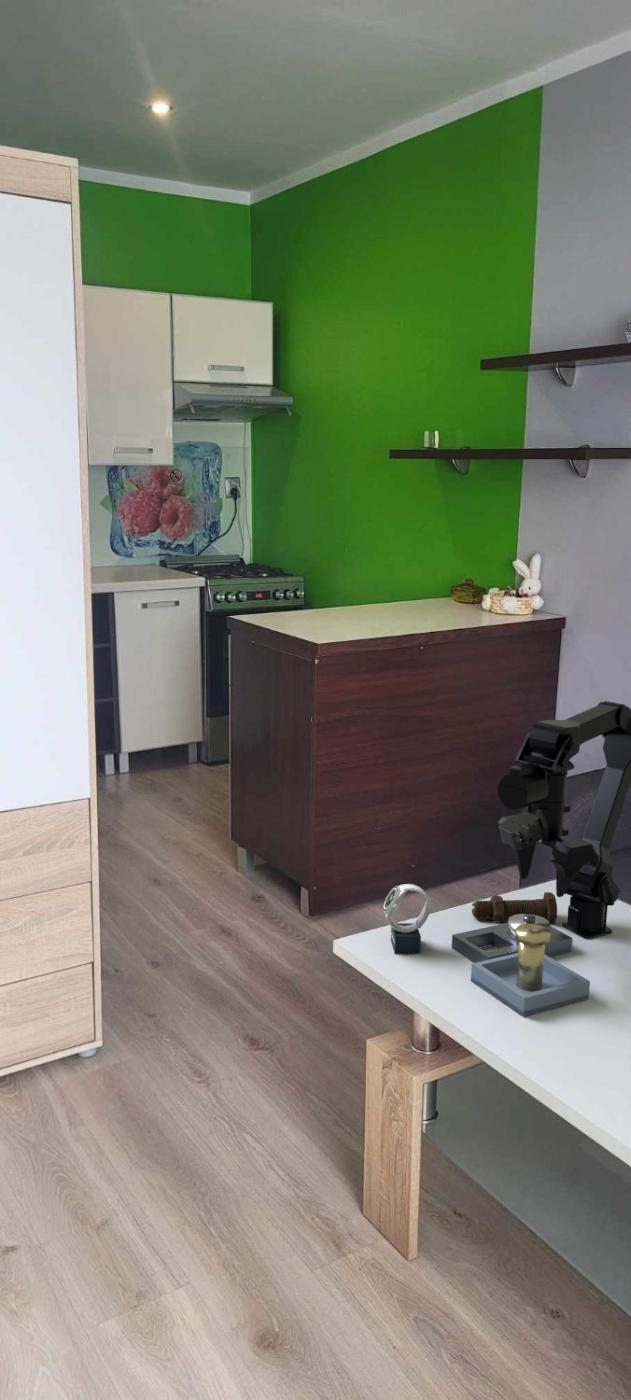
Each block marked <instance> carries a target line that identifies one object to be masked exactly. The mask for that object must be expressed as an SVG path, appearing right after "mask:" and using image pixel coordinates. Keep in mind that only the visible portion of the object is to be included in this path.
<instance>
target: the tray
mask: <svg viewBox="0 0 631 1400" xmlns="http://www.w3.org/2000/svg"><path fill="white" fill-rule="evenodd" d="M517 965H518V953H515V954H511V955H507V956H503V957H498V958H494V959H490V960H485V961H481V962H477V963H473V962H472V963H471V968H470V969H471V973H470V982H471V983H473V984H474V985H476V986H477V987H479V988H480V989H482V990H483V991H484V992H486V993H488V994H489V995H490V994H491V996H492V997H493V998H495V999H496V1000H498V1001H499V1002H501V1003H502V1004H503V1005H505V1006H507V1007H508V1009H509V1008H510V1009H511V1010H512V1011H514V1012H515V1013H517V1015H520V1016H521V1017H527V1016H531V1015H535V1014H539V1013H542V1012H546V1011H549V1010H553V1009H557V1008H562V1007H564V1006H568V1005H572V1004H575V1003H579V1002H582V1001H587V1000H589V999H590V998H589V997H590V986H591V985H590V984H591V981H590V980H589V979H587V978H585V977H584V976H582V975H581V974H579V973H576V972H575V971H573V970H572V969H570V968H569V967H567V966H565V965H564V964H561V963H560V962H559V961H556V960H555V959H553V958H551V957H548V956H546V955H545V954H544V966H543V979H542V988H541V989H540V990H538V991H526V990H522V989H520V988H519V987H517V985H516V980H517Z"/></svg>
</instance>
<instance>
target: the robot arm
mask: <svg viewBox="0 0 631 1400" xmlns="http://www.w3.org/2000/svg"><path fill="white" fill-rule="evenodd" d="M599 736H602V738H603V739H604V740H603V745H602V750H603V754H604V759H605V763H606V765H605V768H604V772H603V775H602V778H601V781H600V784H599V787H598V790H597V794H596V796H595V799H594V803H593V805H592V809H591V811H590V813H589V814H590V815H589V818H588V821H587V824H586V826H585V830H584V833H583V836H582V839H581V838H579V837H576V838H570V839H563V837H565V836H566V837H567V836H569V829H568V828H565V827H564V826H565V825H564V823H565V822H564V821H565V813H570V812H571V805H569V804H567V803H566V798H567V797H566V796H567V784H568V783H567V782H568V771H571V770H573V769H575V764H574V763H573V762H572V761H571V759H572V758H573V757H575V756H576V755H577V754H579V753H580V749H581V746H582V745H583V744H584V743H586V742H588V741H591V740H593V739H594V738H596V737H599ZM514 764H517V765H512V766H510V767H509V770H508V771H509V773H508V774H506V775H503V776H502V777H501V779H500V781H499V783H498V785H497V795H498V798H499V800H500V802H501V803H502V804H503V806H504V807H505V808H508V809H509V810H511V811H513V810H514V811H516V810H519V809H522V811H521V812H520V813H519V814H511V815H506V816H502V817H500V819H499V820H498V821H497V824H496V825H497V826H496V833H497V834H499V835H500V838H501V842H502V844H503V845H508V846H510V847H511V849H512V852H513V854H514V855H513V856H514V858H515V861H516V865H517V868H518V872H519V873H518V874H519V877H520V878H521V880H524V879H527V878H528V876H529V873H530V869H531V866H532V862H533V858H534V853H535V850H536V846H537V843H541V844H543V845H545V846H547V847H550V848H551V849H552V850H551V851H552V852H551V854H552V856H553V859H552V860H550V862H551V864H553V866H554V867H555V868H556V870H555V871H556V874H555V875H556V879H555V881H556V882H555V891H556V897H557V898H561V897H563V896H565V895H568V896H570V897H569V898H570V899H569V905H568V907H567V919H566V921H564V922H562V924H561V926H562V927H564V928H566V929H567V930H569V931H571V932H573V933H575V934H577V935H579V936H580V937H582V938H584V939H590V938H594V937H598V936H604V935H607V934H612V933H613V929H612V928H610V927H608V926H607V918H608V907H609V906H615V902H617V900H618V897H619V893H620V888H619V887H618V884H617V883H616V882H615V880H614V878H613V877H612V873H613V869H614V864H613V860H612V856H611V852H610V848H611V844H612V841H613V839H614V835H615V832H616V829H617V826H618V823H619V820H620V816H621V815H622V810H623V807H624V805H625V801H626V798H627V795H628V793H629V789H630V785H631V708H630V706H627V705H626V704H624V703H620V702H614V701H608V700H604V701H600V702H599V703H598V704H597V705H595V706H594V707H591V708H589V709H587V710H584V711H583V712H579V713H578V714H575V715H573V716H571V717H568V718H566V719H545V720H539V721H536V722H534V723H533V724H532V725H531V727H530V729H529V730H528V732H527V734H526V735H525V738H524V740H523V742H522V744H521V746H520V749H519V751H518V752H517V755H516V757H515V759H514Z"/></svg>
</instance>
